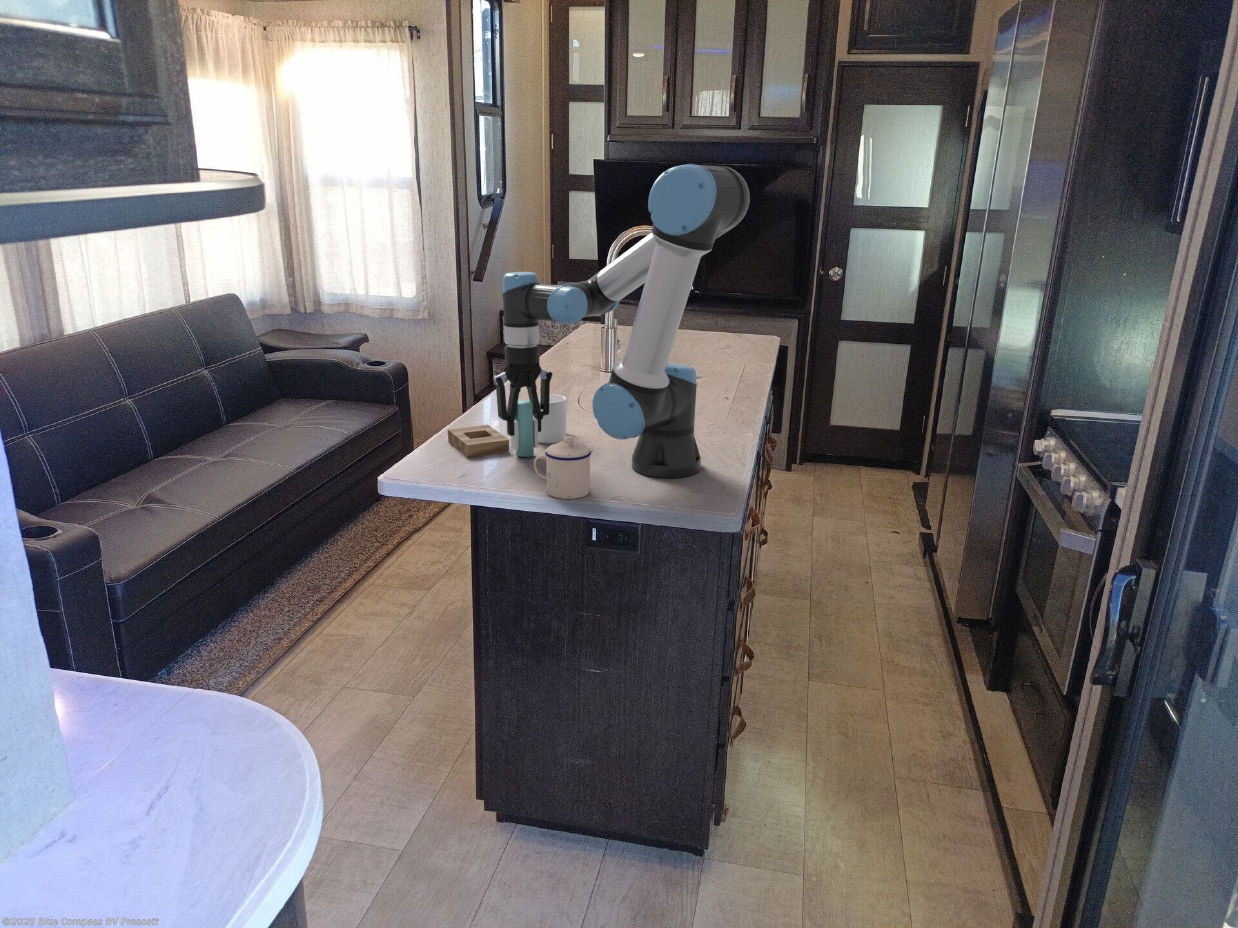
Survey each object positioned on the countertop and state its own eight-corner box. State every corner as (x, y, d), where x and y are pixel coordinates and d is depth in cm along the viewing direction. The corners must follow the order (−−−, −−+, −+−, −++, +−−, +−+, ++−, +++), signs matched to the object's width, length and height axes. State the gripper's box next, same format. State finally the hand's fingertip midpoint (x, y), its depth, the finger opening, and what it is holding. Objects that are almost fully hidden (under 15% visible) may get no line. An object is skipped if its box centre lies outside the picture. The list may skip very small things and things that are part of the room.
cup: (525, 441, 209) (524, 400, 206) (549, 428, 220) (548, 389, 217) (556, 445, 206) (556, 404, 203) (578, 433, 217) (578, 393, 214)
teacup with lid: (597, 488, 179) (598, 433, 175) (580, 502, 171) (580, 445, 167) (543, 480, 183) (543, 427, 179) (525, 494, 175) (524, 438, 171)
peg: (536, 455, 197) (535, 403, 194) (520, 457, 196) (518, 405, 192) (529, 450, 201) (528, 399, 197) (513, 453, 199) (511, 401, 195)
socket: (509, 452, 201) (508, 439, 200) (467, 457, 196) (466, 445, 195) (488, 436, 213) (487, 424, 212) (448, 441, 208) (447, 429, 207)
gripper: (550, 339, 197) (552, 438, 205) (478, 345, 190) (483, 448, 197) (564, 344, 191) (566, 446, 198) (490, 350, 183) (495, 457, 191)
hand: (524, 447), depth 198 cm, fingers closed on peg, 4 cm apart
